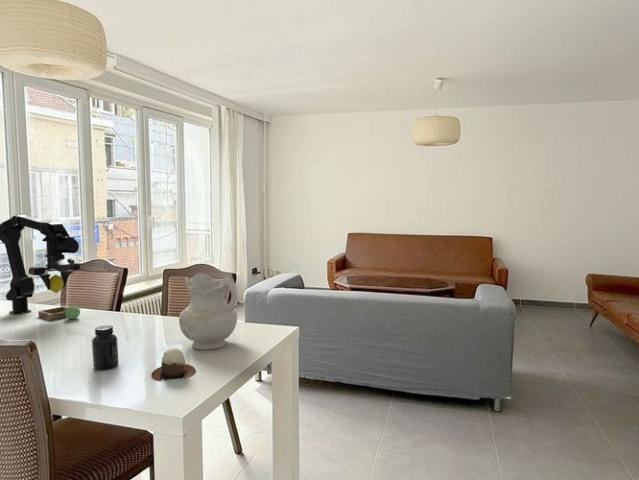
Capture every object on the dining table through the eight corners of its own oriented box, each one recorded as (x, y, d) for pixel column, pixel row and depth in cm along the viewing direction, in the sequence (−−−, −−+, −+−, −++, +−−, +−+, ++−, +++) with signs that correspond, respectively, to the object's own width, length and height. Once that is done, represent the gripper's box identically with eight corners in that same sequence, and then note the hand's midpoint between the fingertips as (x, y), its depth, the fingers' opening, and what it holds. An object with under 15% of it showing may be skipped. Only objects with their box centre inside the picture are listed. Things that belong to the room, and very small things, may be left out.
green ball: (62, 319, 188) (61, 306, 188) (75, 316, 193) (75, 303, 192) (69, 321, 185) (68, 308, 185) (83, 318, 190) (82, 305, 189)
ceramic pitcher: (252, 343, 162) (253, 273, 162) (226, 356, 143) (228, 277, 143) (198, 338, 168) (199, 270, 168) (166, 350, 149) (168, 275, 149)
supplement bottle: (111, 360, 141) (110, 322, 140) (122, 366, 136) (121, 326, 135) (89, 367, 135) (87, 327, 134) (99, 372, 131) (98, 332, 130)
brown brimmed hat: (149, 365, 134) (173, 338, 136) (177, 385, 137) (200, 358, 138) (145, 379, 123) (171, 349, 124) (175, 401, 125) (200, 371, 127)
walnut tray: (38, 316, 192) (38, 311, 192) (64, 311, 201) (63, 306, 201) (51, 320, 186) (50, 314, 186) (77, 315, 195) (76, 309, 195)
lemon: (45, 293, 191) (44, 275, 190) (56, 291, 196) (56, 273, 195) (56, 294, 189) (55, 275, 189) (67, 292, 195) (66, 273, 194)
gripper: (40, 256, 179) (42, 295, 180) (86, 251, 194) (88, 287, 196) (26, 253, 185) (28, 291, 187) (73, 249, 201) (74, 284, 202)
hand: (56, 288), depth 193 cm, fingers closed on lemon, 5 cm apart
